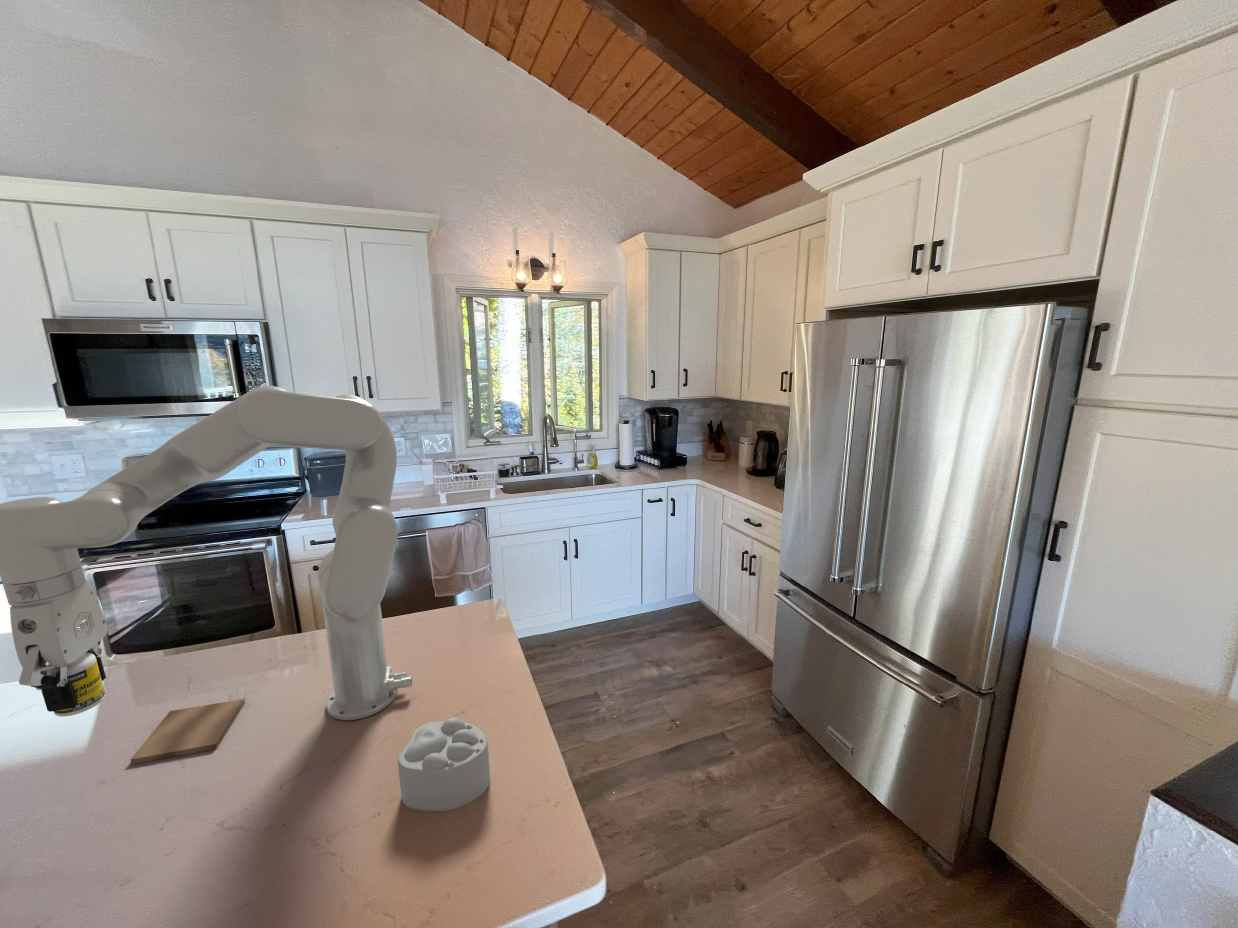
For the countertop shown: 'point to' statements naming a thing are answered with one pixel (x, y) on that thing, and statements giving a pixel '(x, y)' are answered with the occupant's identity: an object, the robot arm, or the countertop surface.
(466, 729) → the lumpy-topped squat cylinder
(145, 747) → the walnut board
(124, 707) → the countertop surface
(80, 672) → the supplement bottle
